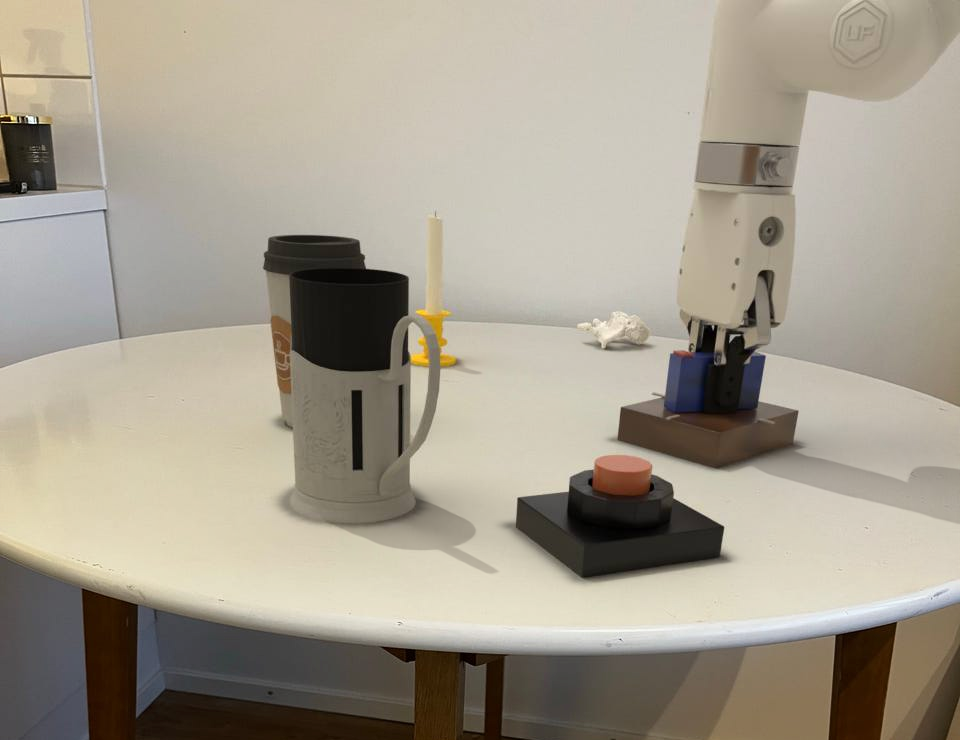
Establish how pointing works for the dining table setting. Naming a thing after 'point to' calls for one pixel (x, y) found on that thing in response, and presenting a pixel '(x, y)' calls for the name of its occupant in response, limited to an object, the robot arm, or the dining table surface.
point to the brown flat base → (707, 431)
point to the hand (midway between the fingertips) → (710, 406)
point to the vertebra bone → (617, 329)
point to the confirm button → (622, 475)
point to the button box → (617, 528)
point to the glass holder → (354, 393)
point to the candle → (434, 294)
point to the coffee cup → (278, 264)
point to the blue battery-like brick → (691, 378)
